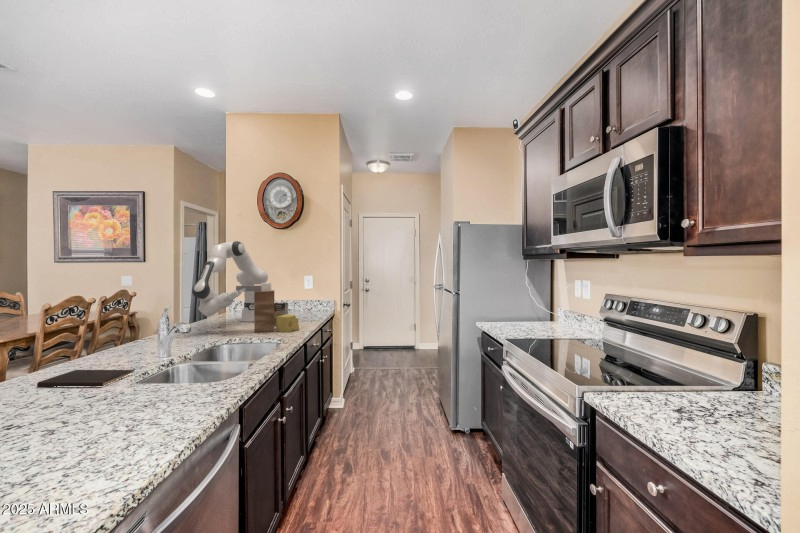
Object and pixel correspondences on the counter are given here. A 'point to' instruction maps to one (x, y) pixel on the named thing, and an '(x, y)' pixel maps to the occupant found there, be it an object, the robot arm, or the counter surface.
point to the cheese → (287, 323)
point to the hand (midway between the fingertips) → (246, 288)
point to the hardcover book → (85, 378)
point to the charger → (256, 287)
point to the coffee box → (280, 310)
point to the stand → (263, 311)
